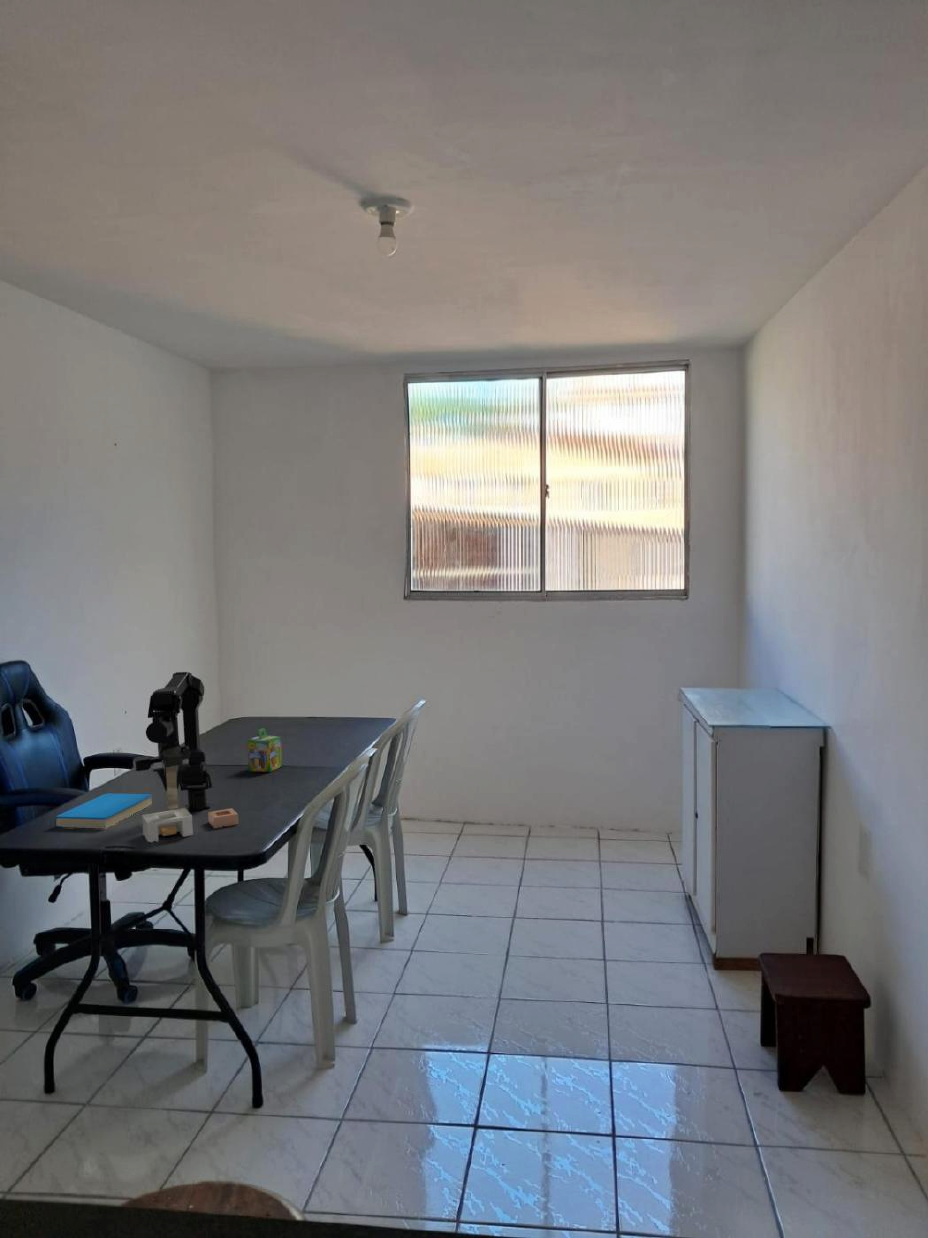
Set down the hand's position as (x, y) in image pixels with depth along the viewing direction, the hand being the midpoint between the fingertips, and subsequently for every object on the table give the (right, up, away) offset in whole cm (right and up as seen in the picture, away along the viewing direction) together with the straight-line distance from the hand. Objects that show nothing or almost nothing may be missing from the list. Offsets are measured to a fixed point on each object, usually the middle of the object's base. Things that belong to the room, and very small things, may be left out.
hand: (171, 789), depth 256 cm
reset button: (-1, -12, 0) cm, 12 cm away
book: (-27, -13, +22) cm, 37 cm away
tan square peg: (0, -5, 0) cm, 5 cm away
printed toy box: (+10, -7, +75) cm, 76 cm away
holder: (+12, -12, +10) cm, 19 cm away
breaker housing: (-1, -13, 0) cm, 13 cm away
